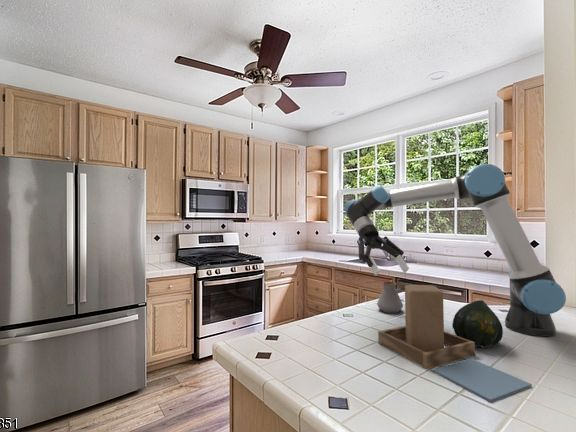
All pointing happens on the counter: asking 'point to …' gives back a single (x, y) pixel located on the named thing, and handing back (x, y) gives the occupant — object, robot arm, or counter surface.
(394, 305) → the coffee pot
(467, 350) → the walnut frame
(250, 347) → the counter surface
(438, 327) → the block
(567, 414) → the counter surface
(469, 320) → the squash
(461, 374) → the rubber mat
